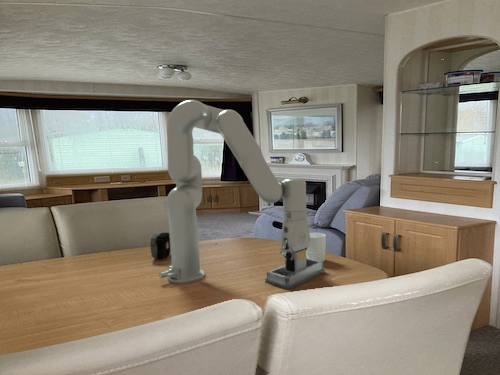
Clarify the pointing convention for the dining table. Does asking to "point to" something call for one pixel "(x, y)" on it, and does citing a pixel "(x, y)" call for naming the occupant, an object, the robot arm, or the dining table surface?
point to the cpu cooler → (160, 245)
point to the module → (299, 260)
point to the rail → (295, 274)
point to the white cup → (316, 247)
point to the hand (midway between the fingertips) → (295, 268)
